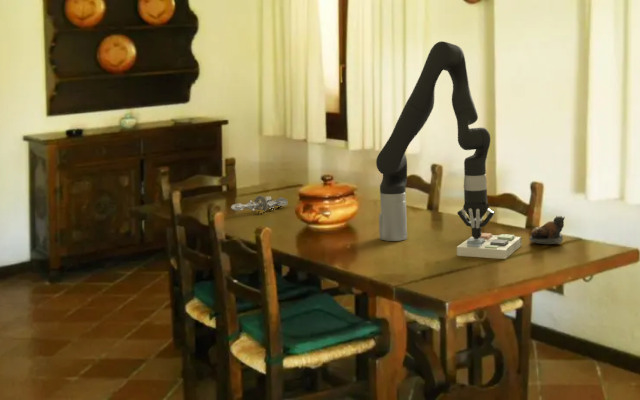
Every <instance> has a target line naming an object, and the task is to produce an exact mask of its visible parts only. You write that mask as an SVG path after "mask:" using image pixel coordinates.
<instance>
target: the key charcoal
mask: <svg viewBox="0 0 640 400" xmlns="http://www.w3.org/2000/svg"><path fill="white" fill-rule="evenodd" d="M507 244H508V240H499V239H494V240H493V241H491V242H490V245H495V246H506V245H507Z"/></svg>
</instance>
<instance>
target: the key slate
mask: <svg viewBox="0 0 640 400" xmlns="http://www.w3.org/2000/svg"><path fill="white" fill-rule="evenodd" d="M469 238H470V237H469ZM469 238H468V239H469ZM483 243H485V239H483V238H479V239H474V238H470V239H469V240H468V241H467V244H480V245H482V244H483Z"/></svg>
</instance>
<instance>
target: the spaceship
mask: <svg viewBox="0 0 640 400" xmlns="http://www.w3.org/2000/svg"><path fill="white" fill-rule="evenodd" d="M288 201H289V200H288V199H287V198H284V197H282V196H280V197H278V198H277V199H275V198H274V199H273V198H272V197H271V196H263V195H257V197H255V198H254V201H252V199H251V200H249V201H248V202H247V203H245V204H244V203H243V204H242V203H234V204H231V206H230V209H231V210H232V211H235V212H238V211H243V210H244V209H247V210H251V212H255V209H257V210H264V211H266V212H267V210H269V209H271V208H274V209H275V206H283V207H285V206H288V204H289V202H288Z"/></svg>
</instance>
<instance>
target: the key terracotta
mask: <svg viewBox="0 0 640 400" xmlns="http://www.w3.org/2000/svg"><path fill="white" fill-rule="evenodd" d="M492 235H493V233H490V232H489V233H488V232H481V237H480V238H483V239H487V240H489V239H490V238H491V237H492Z"/></svg>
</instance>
